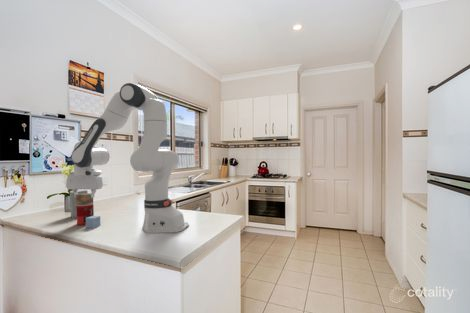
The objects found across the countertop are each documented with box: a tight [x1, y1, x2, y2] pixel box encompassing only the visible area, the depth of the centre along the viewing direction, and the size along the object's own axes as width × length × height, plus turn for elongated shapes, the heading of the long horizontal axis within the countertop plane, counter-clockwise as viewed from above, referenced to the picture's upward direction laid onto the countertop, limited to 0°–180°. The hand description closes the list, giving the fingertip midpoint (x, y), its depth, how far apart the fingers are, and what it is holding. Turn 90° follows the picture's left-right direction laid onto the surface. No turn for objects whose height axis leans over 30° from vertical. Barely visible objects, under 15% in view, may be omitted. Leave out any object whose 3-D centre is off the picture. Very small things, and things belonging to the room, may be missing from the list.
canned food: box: [76, 202, 95, 226], centre depth 123 cm, size 8×8×11 cm
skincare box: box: [69, 189, 88, 219], centre depth 140 cm, size 8×7×16 cm
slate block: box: [85, 215, 101, 229], centre depth 118 cm, size 4×4×5 cm
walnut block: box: [76, 192, 94, 205], centre depth 123 cm, size 6×6×5 cm
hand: (84, 197), depth 123 cm, fingers open, 8 cm apart
